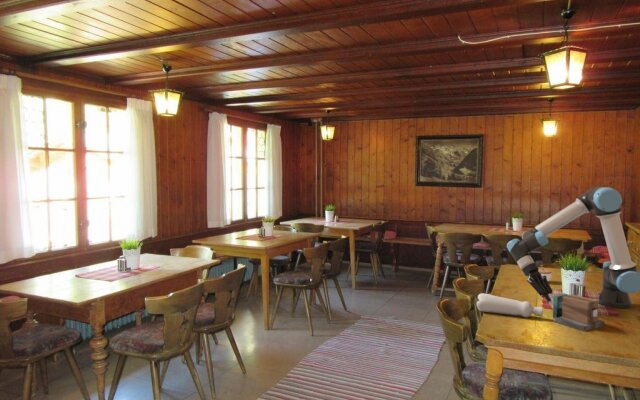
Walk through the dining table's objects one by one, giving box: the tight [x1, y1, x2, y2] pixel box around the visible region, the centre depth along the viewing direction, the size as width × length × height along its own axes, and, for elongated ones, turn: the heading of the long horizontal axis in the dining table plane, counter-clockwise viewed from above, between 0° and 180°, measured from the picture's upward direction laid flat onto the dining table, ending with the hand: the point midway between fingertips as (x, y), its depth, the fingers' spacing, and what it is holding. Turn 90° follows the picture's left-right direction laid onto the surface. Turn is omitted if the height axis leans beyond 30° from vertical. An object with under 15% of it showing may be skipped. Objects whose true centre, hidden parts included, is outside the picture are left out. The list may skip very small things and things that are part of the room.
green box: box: [552, 293, 597, 319], centre depth 218 cm, size 8×18×11 cm, turn 29°
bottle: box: [476, 292, 544, 319], centre depth 231 cm, size 9×9×30 cm
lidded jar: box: [538, 267, 553, 283], centre depth 298 cm, size 11×11×9 cm
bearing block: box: [554, 294, 605, 332], centre depth 217 cm, size 16×14×12 cm
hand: (555, 306), depth 227 cm, fingers closed
